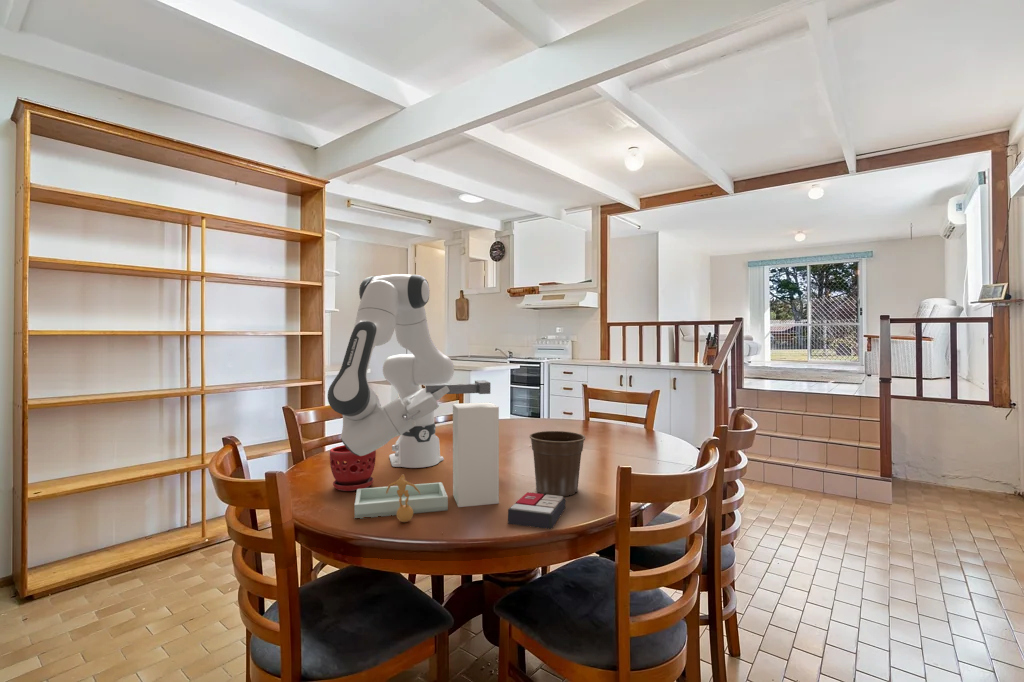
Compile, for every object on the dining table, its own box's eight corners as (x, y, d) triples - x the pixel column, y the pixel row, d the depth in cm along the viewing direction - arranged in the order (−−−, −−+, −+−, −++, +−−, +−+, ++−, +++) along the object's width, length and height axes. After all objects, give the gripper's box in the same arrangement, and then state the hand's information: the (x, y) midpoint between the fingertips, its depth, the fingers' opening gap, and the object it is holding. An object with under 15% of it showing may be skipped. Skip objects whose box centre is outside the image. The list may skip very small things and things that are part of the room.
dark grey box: (565, 495, 126) (551, 511, 112) (565, 511, 126) (551, 530, 112) (526, 490, 129) (507, 506, 115) (525, 506, 129) (507, 524, 115)
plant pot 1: (384, 483, 148) (384, 444, 147) (355, 496, 135) (355, 453, 135) (350, 478, 152) (350, 440, 152) (319, 490, 140) (319, 449, 140)
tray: (357, 501, 131) (357, 488, 131) (441, 494, 137) (441, 482, 136) (354, 519, 118) (354, 504, 118) (447, 510, 124) (447, 496, 124)
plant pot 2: (568, 479, 151) (568, 428, 150) (596, 495, 136) (596, 438, 136) (520, 486, 144) (520, 432, 144) (544, 503, 129) (544, 443, 129)
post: (453, 495, 136) (452, 403, 136) (490, 491, 139) (490, 402, 139) (458, 507, 126) (458, 408, 126) (498, 503, 129) (498, 407, 129)
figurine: (423, 518, 118) (423, 470, 118) (417, 528, 112) (417, 477, 112) (390, 518, 119) (390, 469, 118) (382, 527, 113) (382, 476, 112)
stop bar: (424, 392, 132) (424, 381, 132) (485, 390, 137) (485, 380, 137) (427, 395, 125) (427, 384, 125) (490, 393, 130) (490, 382, 130)
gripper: (397, 410, 117) (446, 380, 120) (395, 399, 136) (437, 374, 140) (410, 432, 118) (458, 402, 121) (406, 418, 137) (448, 393, 140)
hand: (447, 387), depth 130 cm, fingers closed on stop bar, 2 cm apart
